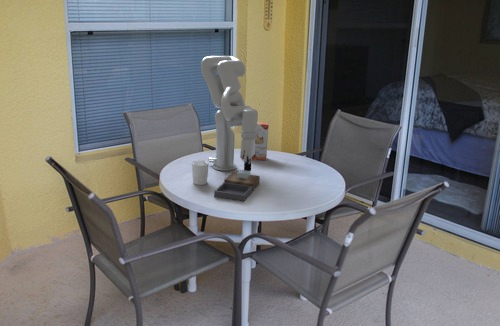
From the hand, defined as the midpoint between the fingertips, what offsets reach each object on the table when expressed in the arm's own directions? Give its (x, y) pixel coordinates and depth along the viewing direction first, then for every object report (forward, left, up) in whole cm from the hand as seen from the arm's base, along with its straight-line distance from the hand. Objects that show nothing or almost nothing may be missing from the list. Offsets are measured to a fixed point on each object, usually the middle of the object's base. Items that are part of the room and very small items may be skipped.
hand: (247, 171), depth 241 cm
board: (0, -8, -5) cm, 9 cm away
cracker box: (-7, +37, -5) cm, 38 cm away
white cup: (-20, -12, -5) cm, 24 cm away
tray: (0, -21, -5) cm, 21 cm away
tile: (0, -6, -1) cm, 6 cm away
